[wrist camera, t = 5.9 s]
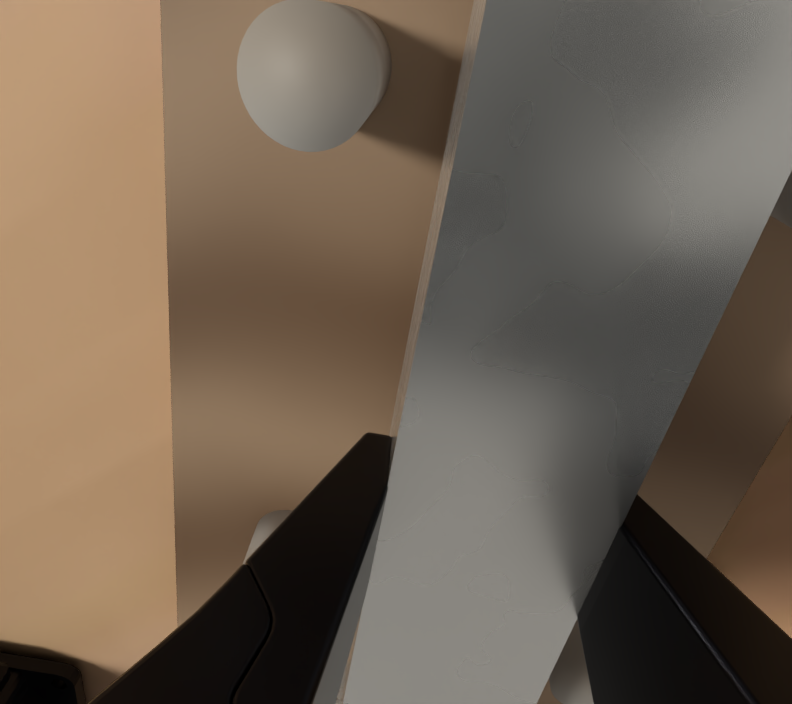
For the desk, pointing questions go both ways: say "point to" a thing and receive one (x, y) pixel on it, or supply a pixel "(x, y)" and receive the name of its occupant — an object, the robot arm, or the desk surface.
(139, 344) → the desk surface
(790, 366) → the peg board
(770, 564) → the desk surface
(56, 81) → the desk surface
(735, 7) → the grey i-beam piece
